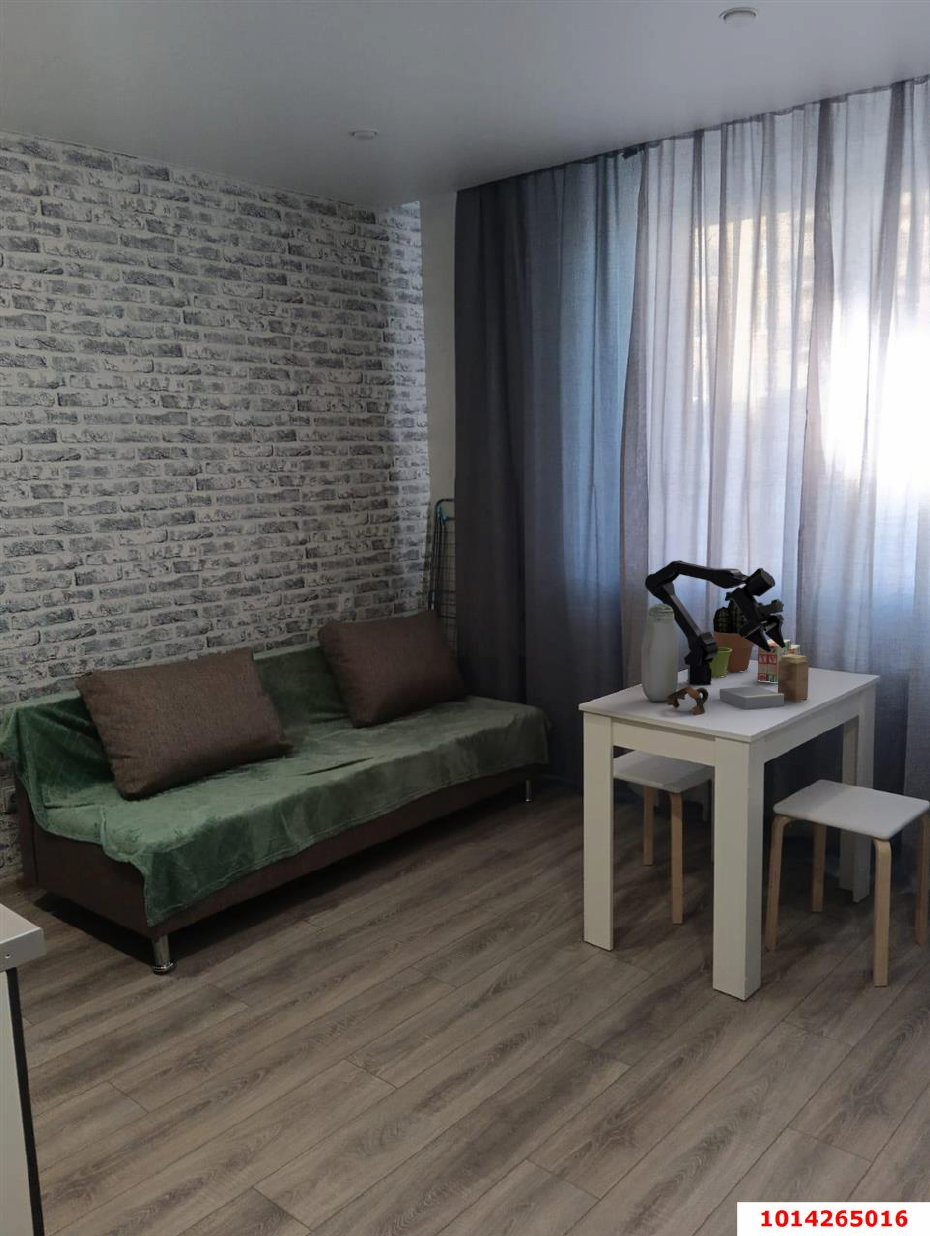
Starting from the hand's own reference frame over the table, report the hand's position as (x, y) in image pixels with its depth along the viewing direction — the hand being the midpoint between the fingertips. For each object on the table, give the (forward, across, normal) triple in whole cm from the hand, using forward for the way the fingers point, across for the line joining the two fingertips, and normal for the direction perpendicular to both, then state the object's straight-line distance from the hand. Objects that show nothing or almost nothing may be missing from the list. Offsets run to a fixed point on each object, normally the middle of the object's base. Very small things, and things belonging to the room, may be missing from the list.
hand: (777, 649), depth 307 cm
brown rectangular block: (+15, -4, +2) cm, 16 cm away
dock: (+10, -16, +8) cm, 20 cm away
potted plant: (-6, +27, +30) cm, 41 cm away
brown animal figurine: (+6, -36, +15) cm, 39 cm away
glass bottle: (-2, -29, +25) cm, 39 cm away
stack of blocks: (+4, +24, +16) cm, 29 cm away
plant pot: (-6, +14, +30) cm, 34 cm away
